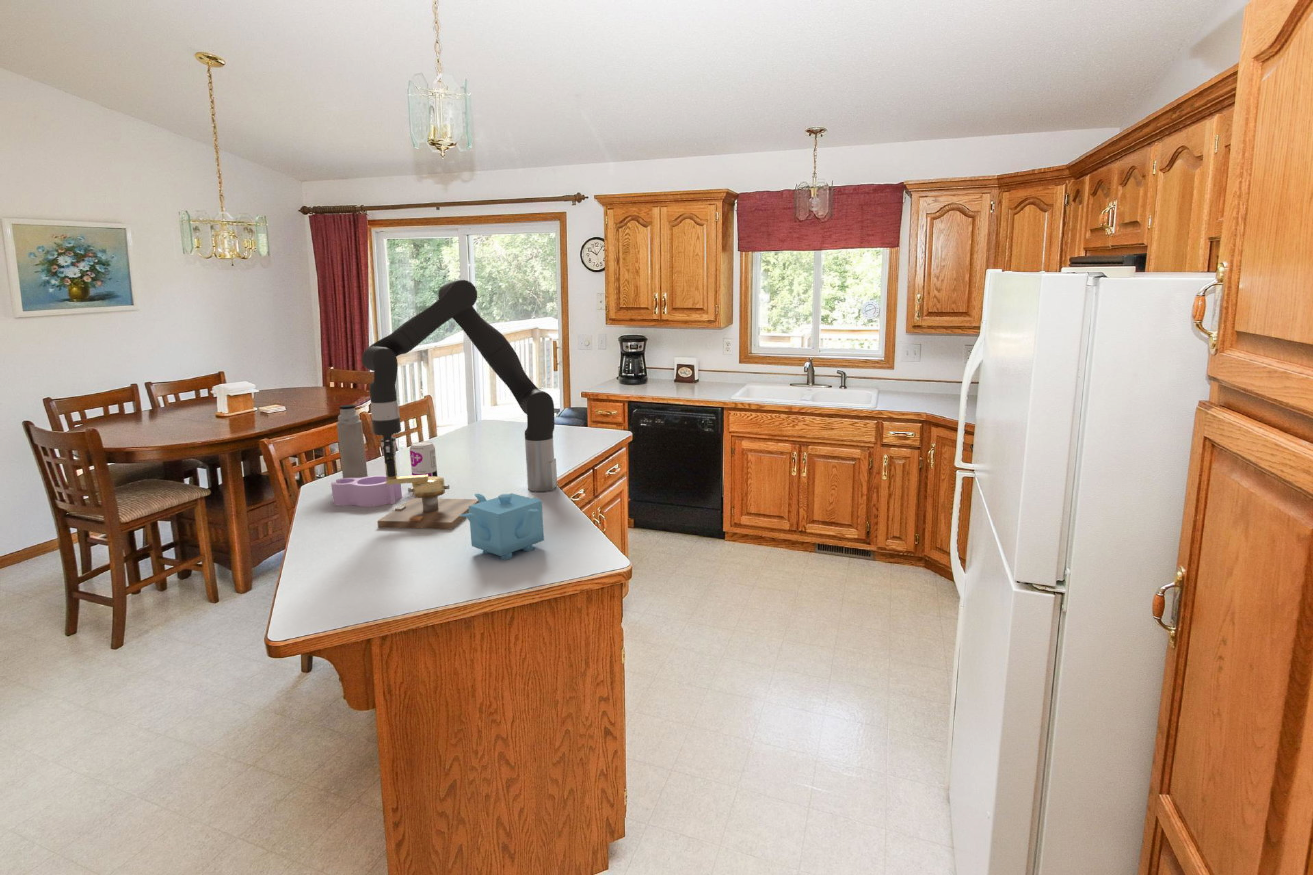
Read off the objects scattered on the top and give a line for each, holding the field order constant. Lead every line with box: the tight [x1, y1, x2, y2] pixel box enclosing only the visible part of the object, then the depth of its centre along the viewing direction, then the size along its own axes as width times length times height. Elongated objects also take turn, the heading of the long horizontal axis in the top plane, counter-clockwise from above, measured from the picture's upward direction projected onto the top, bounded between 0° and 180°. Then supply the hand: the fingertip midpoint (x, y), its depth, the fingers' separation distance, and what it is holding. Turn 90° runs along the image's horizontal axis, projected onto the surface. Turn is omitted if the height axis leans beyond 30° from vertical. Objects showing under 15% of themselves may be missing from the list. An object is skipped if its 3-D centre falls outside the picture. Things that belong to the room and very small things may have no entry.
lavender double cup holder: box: [330, 474, 403, 508], centre depth 229 cm, size 20×12×7 cm, turn 91°
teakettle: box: [460, 493, 545, 560], centre depth 182 cm, size 19×19×15 cm
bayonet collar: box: [383, 455, 450, 498], centre depth 209 cm, size 17×9×12 cm, turn 103°
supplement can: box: [409, 441, 439, 477], centre depth 243 cm, size 8×8×15 cm
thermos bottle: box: [336, 404, 368, 478], centre depth 246 cm, size 8×8×28 cm
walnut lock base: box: [377, 496, 479, 530], centre depth 212 cm, size 22×22×7 cm
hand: (392, 474), depth 208 cm, fingers closed on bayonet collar, 3 cm apart
